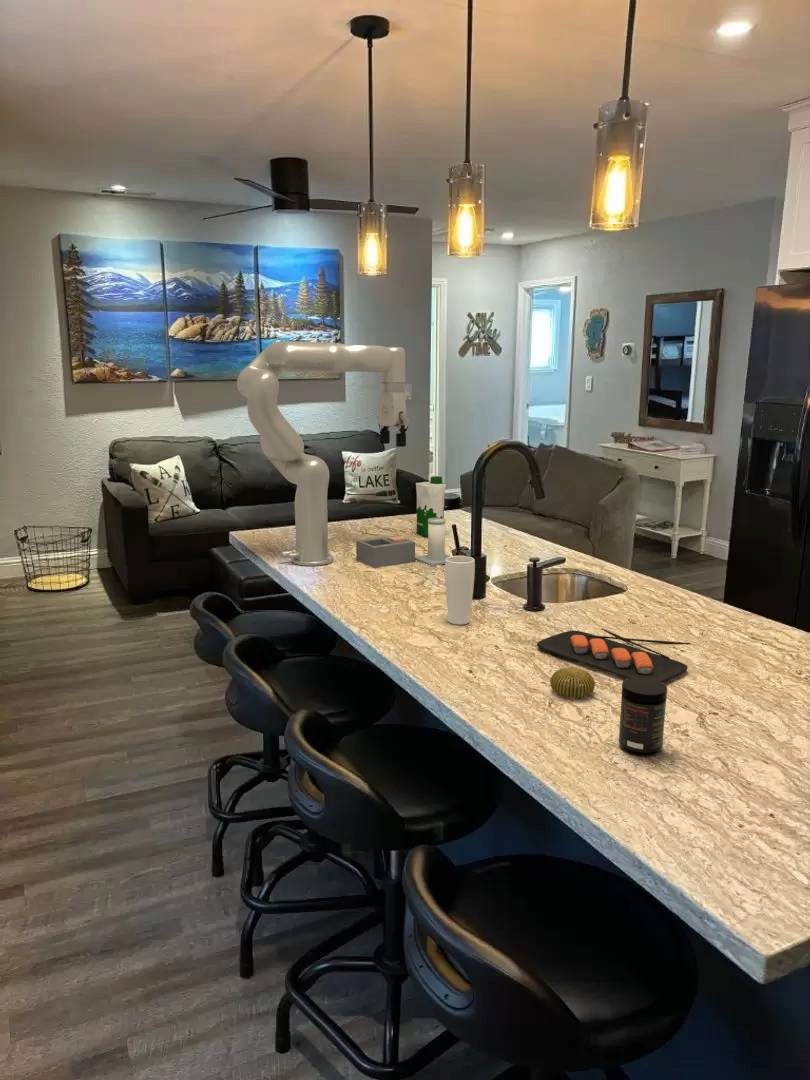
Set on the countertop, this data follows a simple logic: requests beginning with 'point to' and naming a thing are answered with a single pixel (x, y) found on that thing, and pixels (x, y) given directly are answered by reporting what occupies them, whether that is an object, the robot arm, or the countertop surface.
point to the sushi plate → (614, 655)
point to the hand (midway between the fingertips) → (392, 445)
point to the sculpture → (572, 683)
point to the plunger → (396, 539)
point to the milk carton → (429, 503)
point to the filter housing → (384, 552)
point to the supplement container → (642, 716)
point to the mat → (430, 562)
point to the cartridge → (436, 539)
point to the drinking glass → (459, 588)
